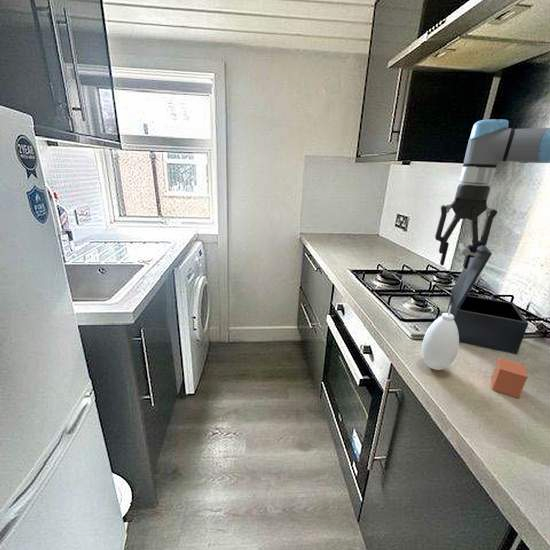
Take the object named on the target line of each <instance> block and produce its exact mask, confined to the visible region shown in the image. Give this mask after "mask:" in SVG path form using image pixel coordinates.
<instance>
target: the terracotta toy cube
mask: <svg viewBox="0 0 550 550" xmlns="http://www.w3.org/2000/svg"><path fill="white" fill-rule="evenodd" d="M490 379H491V387H492V388H491V390H492V391H495V392H498V393H501V394H504V395H507V396H510V397H513V398H516V399H520V396H521V394H522V392H523V389H524V386H525V384H526V382H527V379H528V374H527V370H526V366H525V364H523V363H519V362H515V361H511V360H509V359H504V358H501V357H498V358H497V360H496V364H495V365H494V369H493V372H492V374H491V377H490Z"/></svg>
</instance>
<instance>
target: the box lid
mask: <svg viewBox="0 0 550 550" xmlns="http://www.w3.org/2000/svg"><path fill="white" fill-rule="evenodd" d="M458 248H459V250H460V252H461V254H462V255H463V256H464V257H465V256H468V255H473V256H475V257H474V258H472V257H470V260H469V264H468V267H467V269H464V267H462V270H461V272H460V274H459V276H458V277H457V279H456V281H455V283H454V284H453V286H452V288H451V290H450V292H451V295H453V299H454V302H455V305H456V308H457V309H460V307H461V305H462V304H463V302H464V300H465V299H466V297H467V295H470V292H471V290H472V289H473V287H474V285H475V283H476V282H477V280H478V278H479V276H480V275H481V273H482V271H483V270H484V268H485V267H486V265H487V263H488V261H489V259H490V258H491V256H492V254H493V253H492V252H491V250H490V249H489V248H488V247H487V245H485V246H479V247H478V248H477V251H476V253H473V252H471V251H470V249H469V248H468V245H467V243H466V242H463V241H462V242H460V243H458Z"/></svg>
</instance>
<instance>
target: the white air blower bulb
mask: <svg viewBox="0 0 550 550" xmlns="http://www.w3.org/2000/svg"><path fill="white" fill-rule="evenodd" d="M447 310H448V309H447ZM450 310H451V305H450V307H449V310H448V313H447V312H442V314H441V315H440V316H439V317H437V318H436V319H435V320H434V321H433V322H432V323H431V324H430V326H429V327H428V328H427V330H426V332H425V334H424V336H423V339H422V342H421V355H422V358H423V361H424V363H425V364H426V365H427V367H429V368H430V369H432V370H434V371H442V370H446V369H447V368H448V367H450V366H451V365H452V364H453V363H454V361H455V359H457V356H458V352H459V348H460V342H459V334H458V329H457V325H456V323H455V321H454V320H453V319H454V316H453V315H452V314H450Z"/></svg>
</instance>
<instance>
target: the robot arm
mask: <svg viewBox="0 0 550 550" xmlns="http://www.w3.org/2000/svg"><path fill="white" fill-rule="evenodd" d="M509 123H510V122H509V120H508V119H502V118H499V119H496V118H494V119H493V118H491V119H489V118H488V119H481V120H478V121H476V122H474V124H473V126H472V128H471V133H470V136H469V139H468V143H467V146H466V151H465V154H464V155H465V156H464V159H463V164H462V168H461V173H460V175H459V180H458V182H459V184H458V185H457V188H456V193H455V197H454V200H453V201H452V202H451V203H450V204H446V205H445V204H441V206H440V212H441V213H440V216H439V220H438V224H437V228H436V232H435V235H434V238H435V240H436V241H438V242H440V244H439V248H438V253H439V254H441V257H440V261H439V264H440V266H445V262H446V258H447V253H448V250H449V245H450V244H449V241H448V240H449V239H450V237H451V236H452V234H453V232H454V230H455V229H456V227H457V226H458V224H459V222H460V220H470V231H471V244H468V245H467V246H468V248H469V249H470V251H471V252H473V253H476V251H477V248H478V247H479V246H487V244H488V240H489V236H490V232H491V229H492V224H493V221H494V218H495V217H496V215H498V210H497V209H494V208H490V207H488V204H487V202H488V197H489V195H490V192H491V191H490V190H491V186H490V185H491V184H492V183H493V180H494V177H495V173H496V168H497V166H498V163H499V162H511V163H512V162H513V163H515V162H516V163H520V164H531V163H532V164H550V127H537V128H535V127H534V128H532V127H531V128H510V127H509ZM451 209H452V211H453V213H454V216H453V217H452V220H451V222H450V223H449V225H448V227H447V229H445V230H446V231H445V232H444V234H443V230H444V226H445V223H446V220H447V216H448V215H447V214H448V213H450V210H451ZM484 212H485V214H484V215H485V216H486V217H485V218H484V223H483V227H482V232H481V236H480V240H479V227H478V226H479V222H478V221H479V219H478V218H479V217H480V216H481V215H482V214H483V213H484ZM442 234H443V235H442ZM470 257H472V258H474V257H475V256H473V255H468V256H465V255H464V258H463V259H464V260H463V262H462V263H463V264H462V268H464V269H467V267H468V264H469V260H470Z"/></svg>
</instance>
